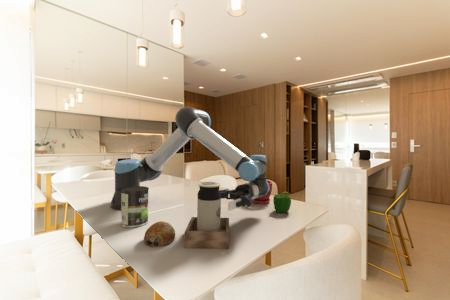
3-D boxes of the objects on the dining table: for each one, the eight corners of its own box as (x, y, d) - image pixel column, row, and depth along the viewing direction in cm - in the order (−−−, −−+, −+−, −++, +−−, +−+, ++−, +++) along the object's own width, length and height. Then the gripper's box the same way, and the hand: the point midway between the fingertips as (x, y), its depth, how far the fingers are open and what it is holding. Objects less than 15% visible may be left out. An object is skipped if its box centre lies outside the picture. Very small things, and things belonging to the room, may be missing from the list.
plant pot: (243, 201, 125) (244, 180, 125) (258, 198, 134) (259, 178, 134) (261, 206, 115) (261, 184, 115) (276, 202, 124) (277, 181, 123)
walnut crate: (184, 247, 69) (184, 232, 69) (191, 230, 83) (191, 217, 83) (228, 248, 69) (229, 233, 69) (228, 230, 83) (228, 217, 83)
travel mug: (192, 236, 75) (192, 184, 74) (206, 229, 82) (207, 181, 81) (210, 242, 71) (211, 187, 70) (224, 234, 77) (225, 183, 77)
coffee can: (153, 219, 93) (153, 186, 93) (139, 229, 83) (139, 192, 83) (131, 217, 95) (131, 185, 95) (115, 226, 85) (115, 190, 85)
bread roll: (176, 252, 73) (185, 228, 76) (151, 249, 66) (161, 222, 68) (160, 243, 80) (168, 221, 82) (135, 239, 73) (145, 215, 75)
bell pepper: (269, 211, 108) (269, 191, 107) (278, 208, 114) (278, 188, 113) (284, 215, 102) (285, 194, 101) (293, 212, 108) (294, 191, 107)
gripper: (273, 206, 86) (243, 221, 69) (223, 196, 101) (188, 206, 85) (273, 187, 86) (243, 198, 69) (223, 180, 101) (189, 187, 84)
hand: (213, 202), depth 77 cm, fingers open, 13 cm apart
